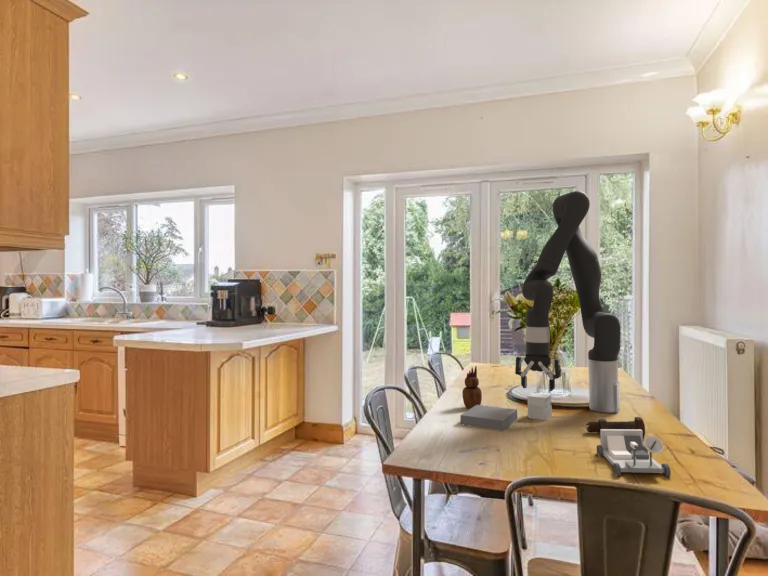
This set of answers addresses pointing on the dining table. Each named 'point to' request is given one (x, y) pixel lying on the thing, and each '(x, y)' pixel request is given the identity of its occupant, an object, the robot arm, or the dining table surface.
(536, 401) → the skincare box
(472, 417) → the stand
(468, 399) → the wooden figurine
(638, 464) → the toy go-kart
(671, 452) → the dining table surface
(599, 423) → the bolt
